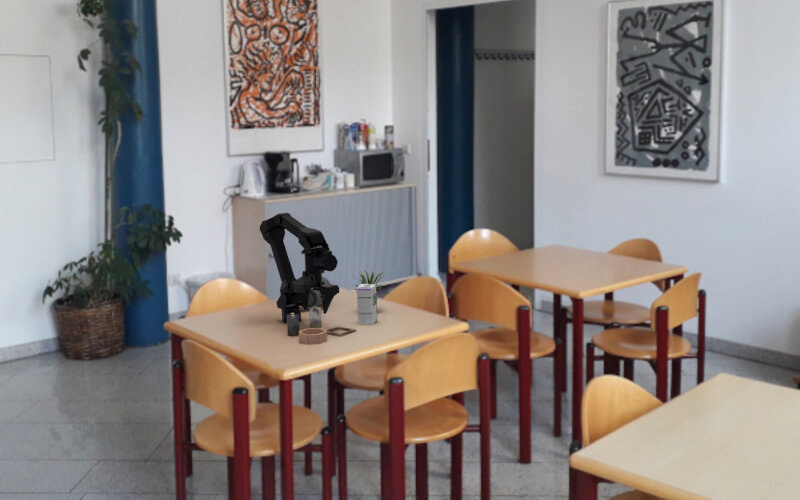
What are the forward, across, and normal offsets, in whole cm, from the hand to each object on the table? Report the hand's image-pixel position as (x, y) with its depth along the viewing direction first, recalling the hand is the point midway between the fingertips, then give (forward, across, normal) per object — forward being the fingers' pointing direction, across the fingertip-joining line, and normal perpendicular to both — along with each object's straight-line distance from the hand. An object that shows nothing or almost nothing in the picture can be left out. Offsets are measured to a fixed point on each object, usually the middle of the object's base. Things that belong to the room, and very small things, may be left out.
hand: (315, 311), depth 312 cm
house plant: (+7, -2, +33) cm, 34 cm away
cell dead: (+6, 0, -11) cm, 12 cm away
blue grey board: (+7, 0, -5) cm, 8 cm away
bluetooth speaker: (+7, -28, +29) cm, 41 cm away
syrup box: (+7, +10, +16) cm, 20 cm away
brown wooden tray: (+7, +11, 0) cm, 13 cm away
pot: (+7, +11, -13) cm, 18 cm away
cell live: (+6, 0, 0) cm, 6 cm away
